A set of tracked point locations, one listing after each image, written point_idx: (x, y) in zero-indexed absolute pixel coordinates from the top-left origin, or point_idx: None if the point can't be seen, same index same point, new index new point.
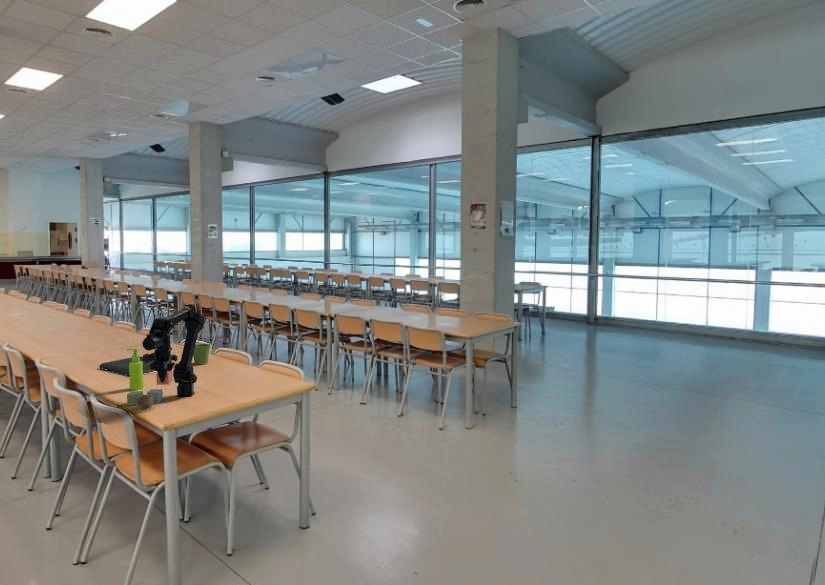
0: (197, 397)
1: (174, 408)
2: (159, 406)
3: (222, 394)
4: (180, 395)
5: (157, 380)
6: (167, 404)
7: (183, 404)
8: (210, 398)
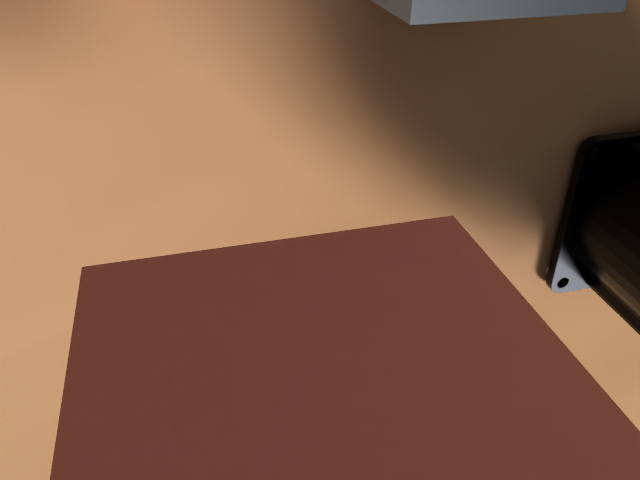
0: None
1: (64, 313)
2: (136, 78)
3: None
4: (594, 177)
5: (77, 397)
6: (246, 153)
7: None
8: None
